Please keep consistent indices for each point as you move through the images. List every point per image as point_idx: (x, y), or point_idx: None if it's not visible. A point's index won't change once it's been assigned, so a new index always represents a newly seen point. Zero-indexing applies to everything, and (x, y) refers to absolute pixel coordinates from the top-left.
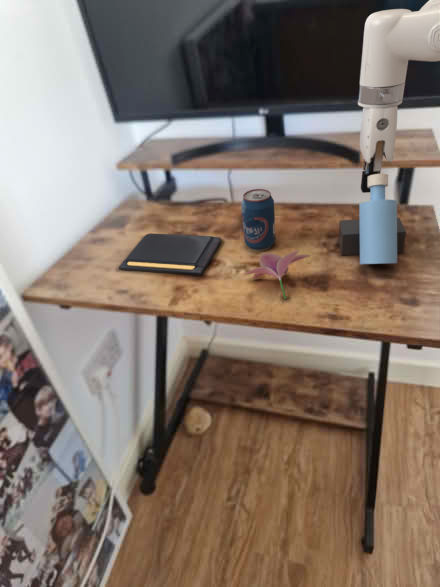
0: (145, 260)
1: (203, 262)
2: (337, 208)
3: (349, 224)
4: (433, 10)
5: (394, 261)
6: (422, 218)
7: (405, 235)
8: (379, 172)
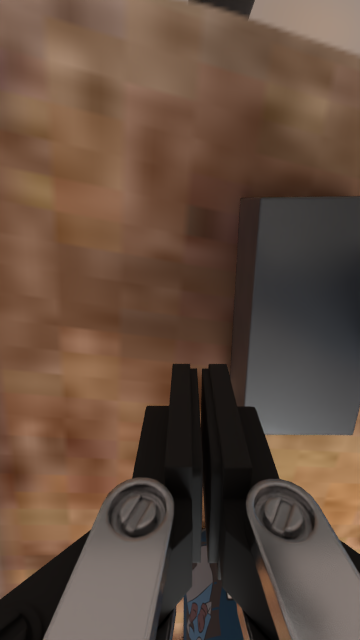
0: None
1: None
2: (2, 364)
3: (282, 408)
4: None
5: None
6: (69, 28)
7: None
8: (317, 513)
